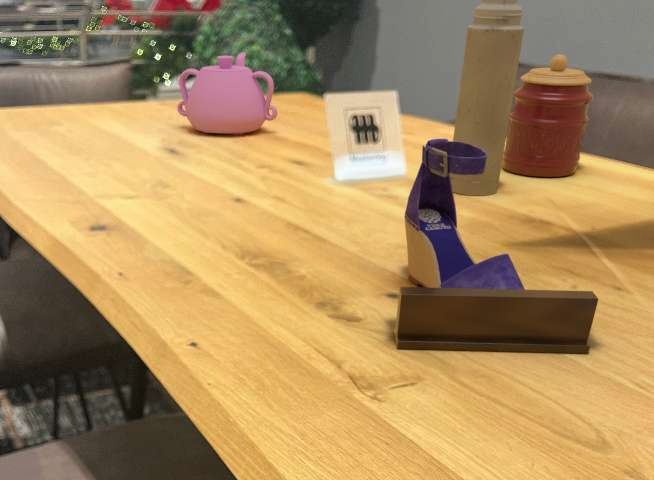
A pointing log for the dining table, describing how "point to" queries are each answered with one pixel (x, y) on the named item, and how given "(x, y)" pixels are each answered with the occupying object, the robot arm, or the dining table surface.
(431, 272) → the sandal
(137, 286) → the dining table surface
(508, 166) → the kitchen canister
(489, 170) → the thermos bottle
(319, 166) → the dining table surface
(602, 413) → the dining table surface
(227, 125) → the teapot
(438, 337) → the shoe rail
